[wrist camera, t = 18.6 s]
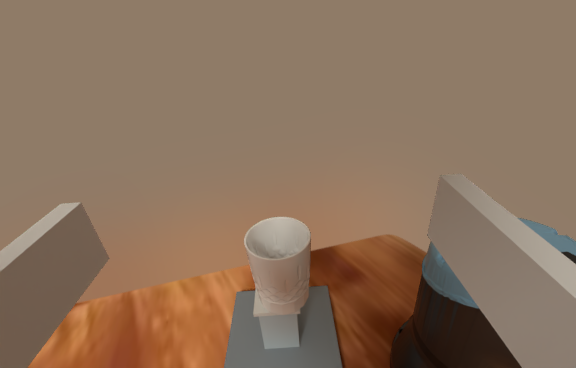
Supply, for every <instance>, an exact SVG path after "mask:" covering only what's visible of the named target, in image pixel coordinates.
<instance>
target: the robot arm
mask: <svg viewBox="0 0 576 368" xmlns="http://www.w3.org/2000/svg"><path fill="white" fill-rule="evenodd" d="M427 236H428V237H429V239H430V240H431V243H430V246H429V249H428V252H427V255H426V256H425V258H424V260H423V263H422V276H421V281H420V286H419V291H418V295H417V300H416V305H415V310H414V314H413V315H412V316H411V317H410V318H409V320H408V321H407V322H405V323H404V324H403V325H402V326H401V327H400V329H399V330H398V332H397V333H396V335H395V337H394V340H393V344H392V349H391V355H390V367H391V368H576V241H574V240H573V239H572V238H570V237H568V236H563V235H557V231H556V230H555V229H553V228H550V227H548V226H546V225H543V224H540V223H536V222H533V221H530V220H525V219H521V218H517V217H515V216H514V215H513V214H512V213H510V212H509V211H508V210H506V209H505V208H504V207H503V206H501V205H500V204H499V203H498V202H496V201H495V200H494V199H493V198H491V197H490V196H489V195H487V194H486V193H485V192H484V191H482V190H481V189H480V188H478V187H477V186H476V185H475V184H473V183H472V182H471V181H470V180H468V179H467V178H466V177H465V176H463V175H462V174H452V175H440V177H439V182H438V187H437V192H436V196H435V201H434V206H433V210H432V215H431V220H430V225H429V229H428V234H427ZM108 259H109V256H108V255H107V253H106V250H105V249H104V247H103V245H102V243H101V241H100V239H99V237H98V235H97V233H96V231H95V229H94V227H93V225H92V223H91V221H90V219H89V217H88V215H87V213H86V211H85V209H84V207H83V205H82V203H81V202H80V203H67V204H60V205H59V206H57V207H56V208H55V209H54V210H52V211H51V212H50V213H48V214H47V215H46V216H45V217H43V218H42V219H41V220H40V221H38V222H37V223H36V224H34V225H33V226H32V227H31V228H29V229H28V230H27V231H25V232H24V233H23V234H22V235H20V236H19V237H18V238H17V239H15V240H14V241H13V242H12V243H10V244H9V245H8V246H7V247H5V248H4V249H3V250H1V251H0V368H27V367H28V366H29V365H30V363H31V362H32V361H33V359H34V358H35V357H36V355H37V354H38V353H39V351H40V350H41V349H42V347H43V346H44V345H45V343H46V342H47V341H48V339H49V338H50V337H51V335H52V334H53V333H54V331H55V330H56V329H57V327H58V326H59V325H60V323H61V322H62V321H63V319H64V318H65V317H66V315H67V314H68V313H69V312H70V310H71V309H72V308H73V306H74V305H75V304H76V302H77V301H78V300H79V298H80V297H81V295H82V294H83V293H84V291H85V290H86V289H87V288H88V286H89V285H90V283H91V282H92V281H93V280H94V278H95V277H96V276H97V274H98V273H99V271H100V270H101V269H102V268H103V266H104V265H105V264H106V262H107V261H108Z"/></svg>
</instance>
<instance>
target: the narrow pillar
mask: <svg viewBox="0 0 576 368" xmlns="http://www.w3.org/2000/svg"><path fill="white" fill-rule="evenodd" d="M224 368H342V363H341V358H340V352H339V347H338V341H337V336H336V330H335V325H334V320H333V314H332V309H331V303H330V298H329V292H328V287H327V286H314V287H309V297H308V299H307V301H306V303H305V305H304V306H303V307H302V308H300V309H299V310H297V311H296V312H295V313H291V314H286V315H279V314H273V313H271V312H269V311H268V310H267V309H265V308H264V307H263V306H262V303H261V301H260V299H259V296H258V291H257V289H256V291H242V292H237V294H236V300H235V306H234V312H233V318H232V324H231V330H230V336H229V342H228V347H227V353H226V359H225V365H224Z"/></svg>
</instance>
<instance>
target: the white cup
mask: <svg viewBox="0 0 576 368" xmlns="http://www.w3.org/2000/svg"><path fill="white" fill-rule="evenodd" d="M310 242H311V234H310V230H309V229H308V227H307V226H306V225H305V224H304V223H303V222H301V221H299V220H297V219H293V218H289V217H273V218H268V219H265V220H262V221H260V222H258V223H257V224H255V225H254V226H252V227H251V228H250V229H249V230H248V232H247V233H246V236H245V239H244V243H245V248H246V252H247V256H248V260H249V264H250V268H251V272H252V275H253V279H254V283H255V286H256V289H257V291H258V296H259V299H260V301H261V303H262V306H263V307H264V308H265V309H267V310H268V311H269V312H271V313H273V314H279V315H286V314H291V313H295V312H296V311H297V310H299V309H300V308H302V307H303V306H304V305H305V303H306V301H307V299H308V297H309V279H310V249H311V248H310V247H311V243H310Z"/></svg>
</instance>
